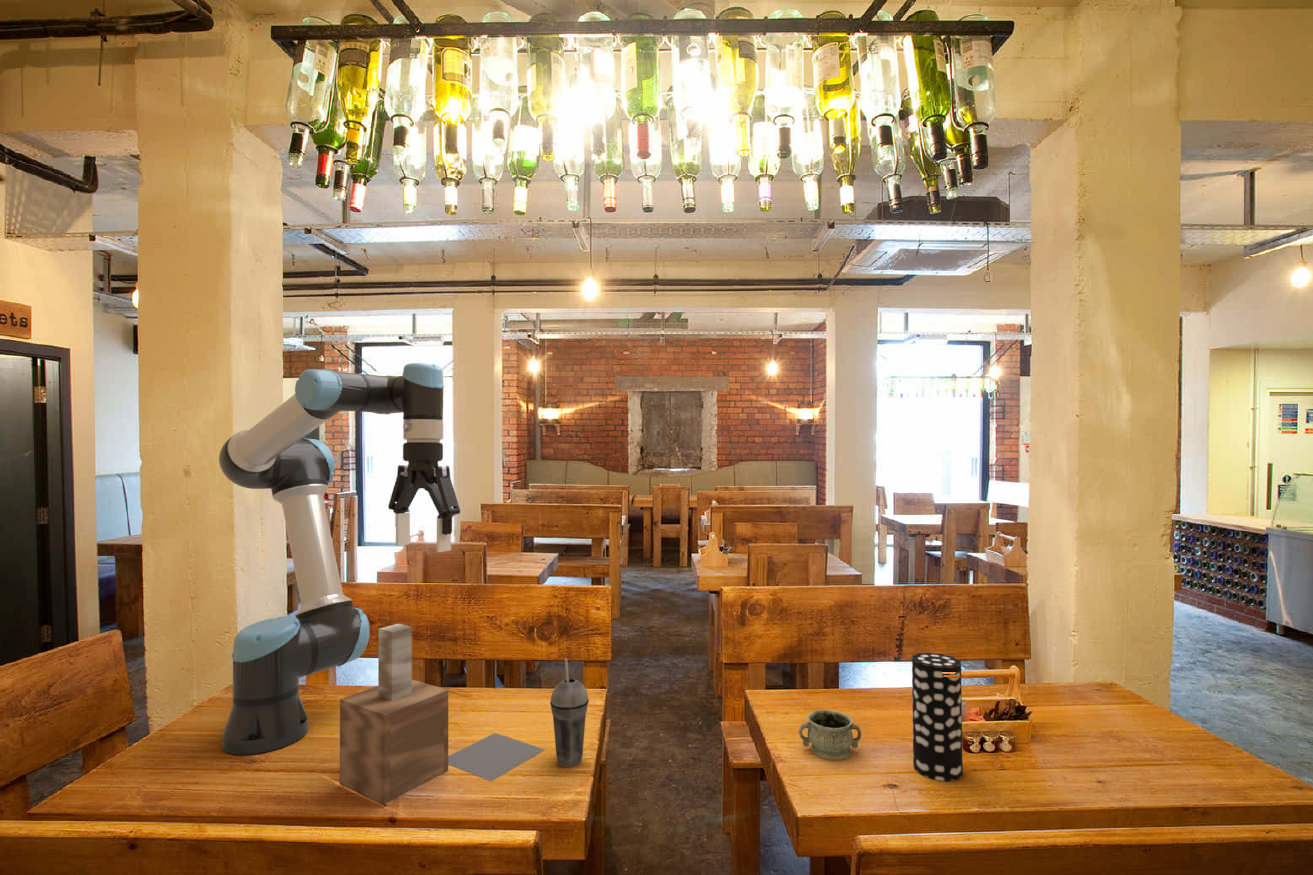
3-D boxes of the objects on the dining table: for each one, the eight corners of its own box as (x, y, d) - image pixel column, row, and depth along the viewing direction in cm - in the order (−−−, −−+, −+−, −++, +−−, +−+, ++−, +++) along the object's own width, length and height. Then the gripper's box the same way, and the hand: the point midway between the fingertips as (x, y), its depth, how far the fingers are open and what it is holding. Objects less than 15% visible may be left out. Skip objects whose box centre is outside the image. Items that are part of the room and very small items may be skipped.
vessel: (856, 741, 129) (855, 709, 129) (867, 762, 120) (866, 728, 120) (796, 739, 130) (795, 708, 130) (802, 760, 121) (802, 727, 121)
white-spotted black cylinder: (959, 762, 120) (958, 655, 120) (965, 784, 112) (963, 669, 112) (912, 755, 122) (910, 650, 123) (914, 776, 115) (913, 664, 115)
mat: (439, 762, 121) (439, 760, 121) (494, 734, 132) (494, 732, 132) (491, 783, 113) (491, 780, 113) (545, 751, 125) (545, 749, 125)
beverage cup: (596, 758, 122) (595, 653, 122) (575, 776, 115) (575, 664, 116) (564, 750, 125) (563, 648, 125) (542, 767, 118) (542, 659, 119)
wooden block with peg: (339, 784, 113) (340, 631, 113) (403, 754, 124) (403, 614, 124) (384, 806, 106) (385, 642, 106) (448, 772, 117) (448, 624, 117)
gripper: (370, 441, 132) (370, 544, 131) (446, 440, 117) (445, 556, 117) (403, 442, 138) (403, 540, 137) (479, 441, 123) (478, 551, 123)
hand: (422, 548), depth 127 cm, fingers open, 13 cm apart
